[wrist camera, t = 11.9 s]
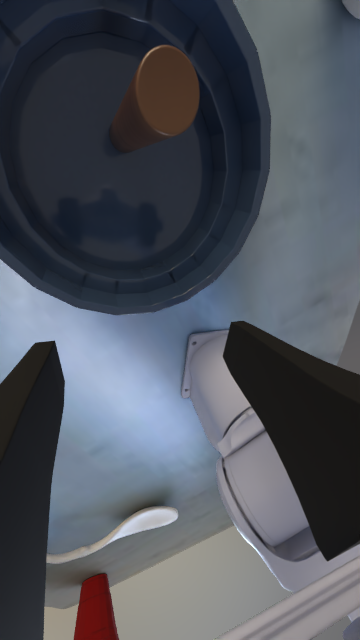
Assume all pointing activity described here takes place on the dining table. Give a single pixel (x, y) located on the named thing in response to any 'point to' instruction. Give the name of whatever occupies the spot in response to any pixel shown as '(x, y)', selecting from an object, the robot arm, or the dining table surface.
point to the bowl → (125, 168)
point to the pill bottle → (353, 7)
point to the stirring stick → (156, 100)
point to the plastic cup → (95, 611)
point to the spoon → (123, 531)
